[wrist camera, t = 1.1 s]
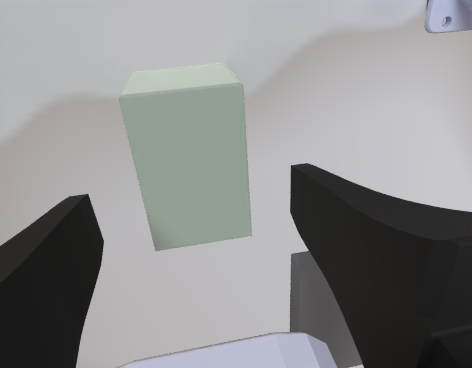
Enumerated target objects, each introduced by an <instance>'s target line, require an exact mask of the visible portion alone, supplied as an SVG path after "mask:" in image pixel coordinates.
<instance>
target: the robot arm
mask: <svg viewBox="0 0 472 368" xmlns="http://www.w3.org/2000/svg"><path fill="white" fill-rule="evenodd" d="M445 17H446V23H445V25H444V26H442V22H443V19H444V18H445ZM425 29H426V31H427V32H429V33H444V32H453V31H463V30H472V0H429V4H428V9H427V14H426V20H425ZM290 200H291V201H290V202H291V203H290V212H291V215H292V218H293V220H294V223H295V225H296V228H297V230H298V232H299V234H300V236H301V238H302V240H303V241H304V243H305V245H306V246H307V248H308V250H309V252H310V253H311V255H312V257H313V258H314V260H315V262H316V263H317V265H318V267H319V268H320V270H321V272H322V273H323V275H324V277H325V278H326V280H327V282H328V284H329V286H330V288H331V290H332V292H333V294H334V296H335V299H336V301H337V303H338V305H339V308H340V310H341V312H342V314H343V317H344V319H345V321H346V324H347V326H348V329H349V331H350V333H351V336H352V338H353V340H354V343H355V346H356V348H357V351H358V353H359V356H360V358H361V361H362V363H363V366H364V368H472V212H467V211H459V210H451V209H445V208H440V207H434V206H430V205H425V204H420V203H415V202H411V201H407V200H403V199H400V198H396V197H392V196H389V195H386V194H382V193H379V192H376V191H373V190H371V189H368V188H366V187H363V186H360V185H358V184H355V183H353V182H350V181H348V180H346V179H343V178H341V177H339V176H337V175H334V174H332V173H330V172H328V171H325V170H323V169H321V168H318V167H316V166H314V165H311V164H308V163H306V164H298V165H291V199H290ZM103 245H104V240H103V237H102V234H101V231H100V228H99V225H98V222H97V219H96V216H95V213H94V210H93V207H92V204H91V201H90V198H89V195H88V194H85V195H78V196H70V197H68V198H66V199H65V200H63V201H62V202H60V203H59V204H57V205H56V206H55V207H53V208H52V209H51V210H49V211H48V212H47V213H45V214H44V215H43V216H41V217H40V218H39V219H37V220H36V221H35V222H34V223H32V224H31V225H30V226H28V227H27V228H26V229H24V230H23V231H21V232H20V233H18V234H17V235H16V236H14V237H13V238H11V239H10V240H8V241H7V242H6V243H4V244H3V245H1V246H0V368H76V363H77V357H78V351H79V345H80V340H81V334H82V330H83V326H84V322H85V319H86V315H87V312H88V309H89V305H90V302H91V298H92V295H93V292H94V288H95V285H96V281H97V278H98V274H99V271H100V267H101V261H102V253H103ZM117 368H337V366H336V364H335V362H334V359H333V357H332V355H331V353H330V351H329V349H328V346H327V344H326V343H324V342H322V341H320V340H318V339H316V338H314V337H312V336H310V335H308V334H306V333H302V332H286V333H285V332H282V333H269V334H265V335H259V336H254V337H249V338H244V339H239V340H234V341H230V342H224V343H219V344H215V345H209V346H205V347H200V348H195V349H189V350H184V351H179V352H174V353H170V354H164V355H159V356H154V357H149V358H144V359H139V360H135V361H132V362H130V363H127V364H124V365H122V366H119V367H117Z"/></svg>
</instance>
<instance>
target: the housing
mask: <svg viewBox="0 0 472 368" xmlns="http://www.w3.org/2000/svg"><path fill="white" fill-rule="evenodd" d="M119 102H120V106H121V111H122V115H123V119H124V123H125V127H126V131H127V135H128V139H129V144H130V148H131V152H132V156H133V160H134V164H135V168H136V172H137V177H138V181H139V185H140V189H141V193H142V198H143V202H144V206H145V210H146V214H147V218H148V222H149V226H150V230H151V235H152V239H153V243H154V247H155V251H159V250H165V249H171V248H178V247H184V246H190V245H197V244H202V243H208V242H215V241H221V240H227V239H234V238H239V237H246V236H251V235H252V232H251V214H250V197H249V179H248V161H247V143H246V126H245V108H244V91H243V84H242V83H241V82H240V81H239V80H238V79H237V77H236V76H235V75H234V74H233V73H232V72H231V71H230V69H229V68H228V67H227V66H226V65H225V64H224V63H215V64H205V65H195V66H185V67H175V68H165V69H155V70H145V71H135V72H133V74H132V76H131V77H130V79H129V81H128V83H127V85H126V86H125V88H124V90H123V92H122V93H121V95H120V97H119Z"/></svg>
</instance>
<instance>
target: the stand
mask: <svg viewBox="0 0 472 368" xmlns="http://www.w3.org/2000/svg"><path fill="white" fill-rule="evenodd" d="M290 332H302V333H306V334H308V335H310V336H312V337H314V338H316V339H318V340H320V341H322V342H324V343H326V344H327V346H328V349H329V351H330V353H331V355H332V357H333V359H334V362H335V364H336V366H337V368H348V367H353V366H357V365H362V364H363V363H362V361H361V358H360V356H359V353H358V351H357V348H356V346H355V343H354V340H353V338H352V336H351V333H350V331H349V329H348V326H347V324H346V321H345V319H344V317H343V314H342V312H341V310H340V308H339V305H338V303H337V301H336V299H335V296H334V294H333V292H332V290H331V288H330V286H329V284H328V282H327V280H326V278H325V277H324V275H323V273H322V272H321V270H320V268H319V267H318V265H317V263H316V262H315V260H314V258H313V257H312V255H311V253H310V252H309V251H307V252H300V253H295V254H291V294H290Z"/></svg>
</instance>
